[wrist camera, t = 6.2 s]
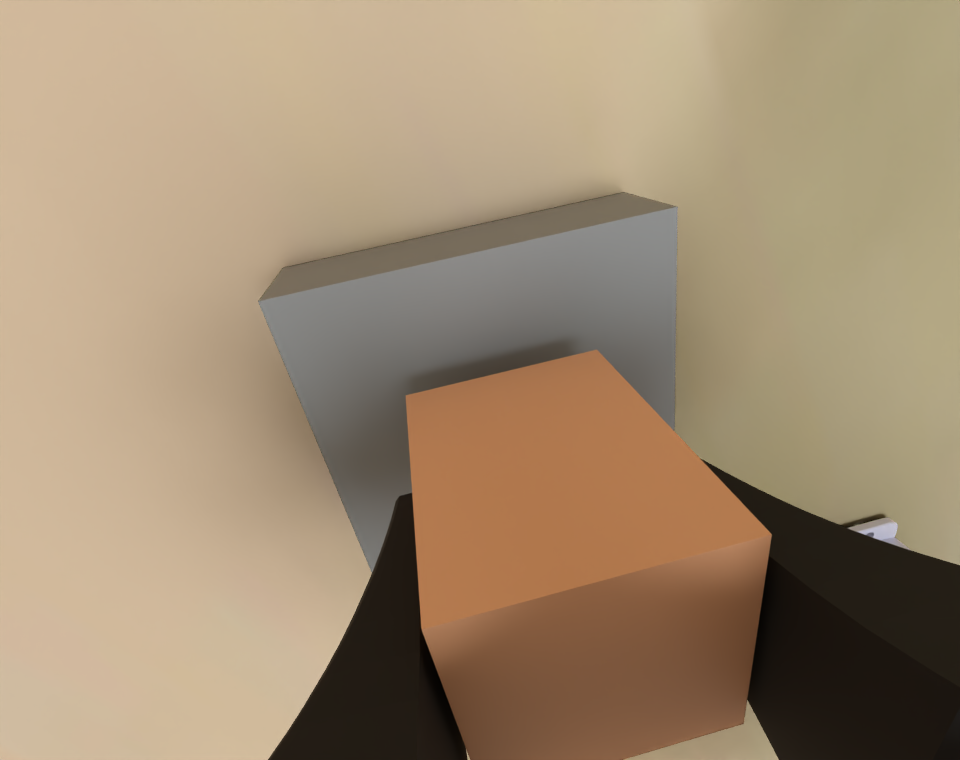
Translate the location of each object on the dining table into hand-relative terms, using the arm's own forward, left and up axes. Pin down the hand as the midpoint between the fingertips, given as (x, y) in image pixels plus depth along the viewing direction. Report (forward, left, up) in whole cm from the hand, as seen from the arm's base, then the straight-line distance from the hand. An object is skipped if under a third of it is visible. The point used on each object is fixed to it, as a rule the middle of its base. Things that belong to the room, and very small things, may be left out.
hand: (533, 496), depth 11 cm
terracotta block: (0, 0, -2) cm, 2 cm away
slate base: (0, 0, -6) cm, 6 cm away
